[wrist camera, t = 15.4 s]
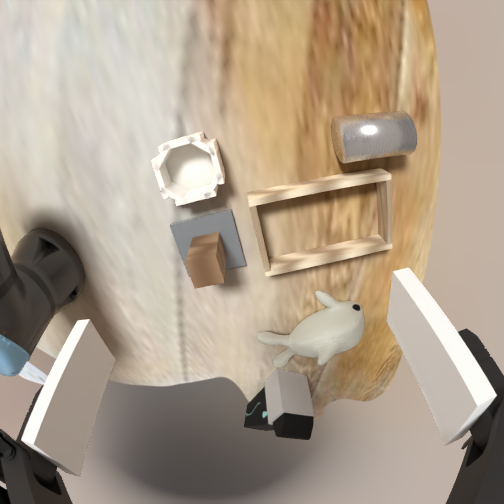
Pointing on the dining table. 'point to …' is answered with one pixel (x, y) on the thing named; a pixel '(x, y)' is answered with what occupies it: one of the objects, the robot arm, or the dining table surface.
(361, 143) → the lying tin can
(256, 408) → the decorative object
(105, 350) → the robot arm
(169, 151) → the ramekin
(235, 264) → the slate coaster
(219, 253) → the walnut block
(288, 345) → the toy
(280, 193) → the birch crate
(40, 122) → the dining table surface
